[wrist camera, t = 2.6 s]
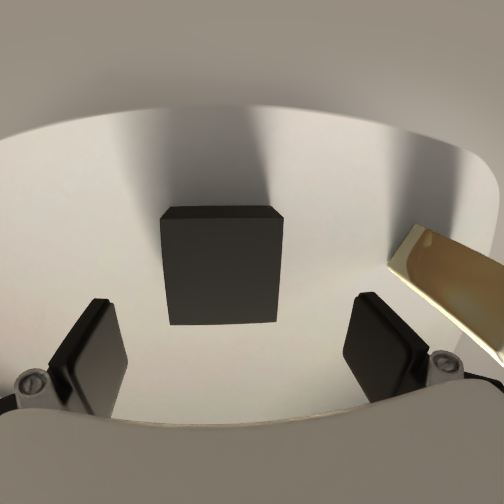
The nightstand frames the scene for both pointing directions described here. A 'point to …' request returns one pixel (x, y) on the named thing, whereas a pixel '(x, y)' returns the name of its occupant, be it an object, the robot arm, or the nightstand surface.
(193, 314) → the dark grey square block
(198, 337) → the nightstand surface
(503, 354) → the cosmetic box
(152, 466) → the robot arm
